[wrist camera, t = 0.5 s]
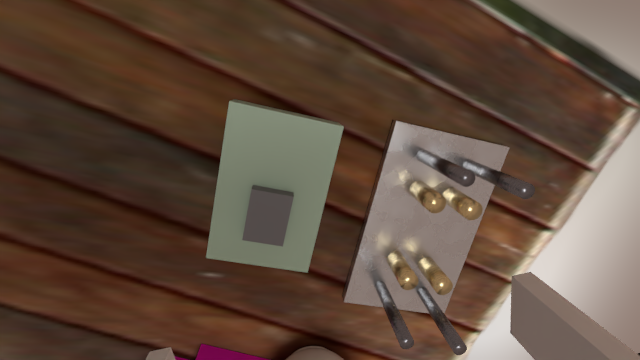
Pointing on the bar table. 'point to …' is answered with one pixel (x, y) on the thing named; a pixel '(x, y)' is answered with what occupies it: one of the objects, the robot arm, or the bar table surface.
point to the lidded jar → (314, 354)
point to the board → (271, 186)
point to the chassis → (424, 223)
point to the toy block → (220, 354)
